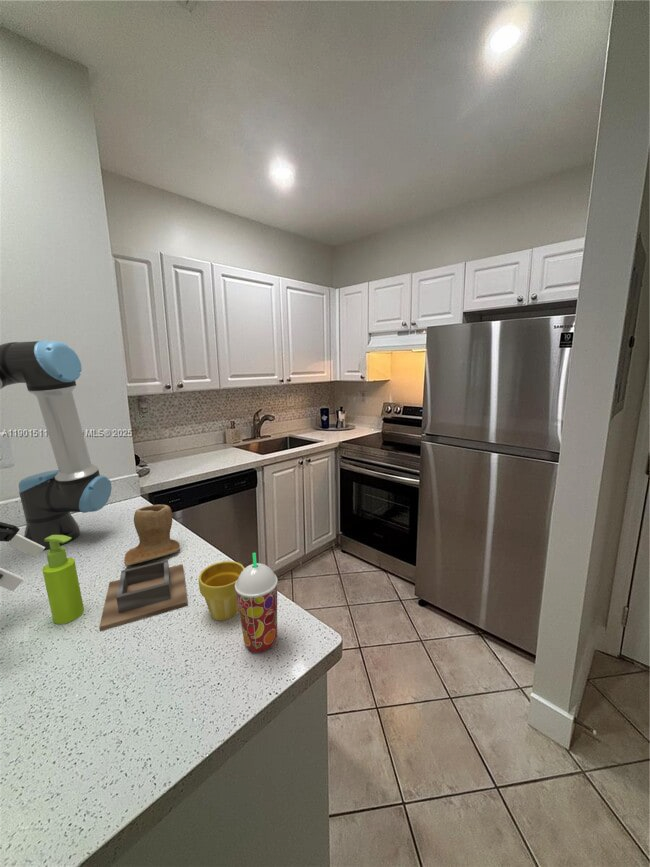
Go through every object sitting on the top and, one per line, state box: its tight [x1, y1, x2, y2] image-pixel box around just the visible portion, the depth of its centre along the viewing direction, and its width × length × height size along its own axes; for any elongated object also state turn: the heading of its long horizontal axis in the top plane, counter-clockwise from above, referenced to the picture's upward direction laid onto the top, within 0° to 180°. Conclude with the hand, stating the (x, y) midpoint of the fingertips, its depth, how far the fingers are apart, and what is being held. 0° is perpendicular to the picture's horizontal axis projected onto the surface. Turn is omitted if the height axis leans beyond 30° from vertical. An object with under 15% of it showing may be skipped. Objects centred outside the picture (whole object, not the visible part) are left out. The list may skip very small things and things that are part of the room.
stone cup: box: [123, 504, 181, 567], centre depth 106 cm, size 15×12×15 cm
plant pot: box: [198, 560, 246, 621], centre depth 81 cm, size 10×10×10 cm
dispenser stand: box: [98, 559, 188, 632], centre depth 88 cm, size 18×18×5 cm
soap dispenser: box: [41, 535, 85, 625], centre depth 80 cm, size 6×7×20 cm
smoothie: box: [235, 552, 279, 653], centre depth 71 cm, size 8×8×20 cm
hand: (31, 567), depth 76 cm, fingers open, 13 cm apart
